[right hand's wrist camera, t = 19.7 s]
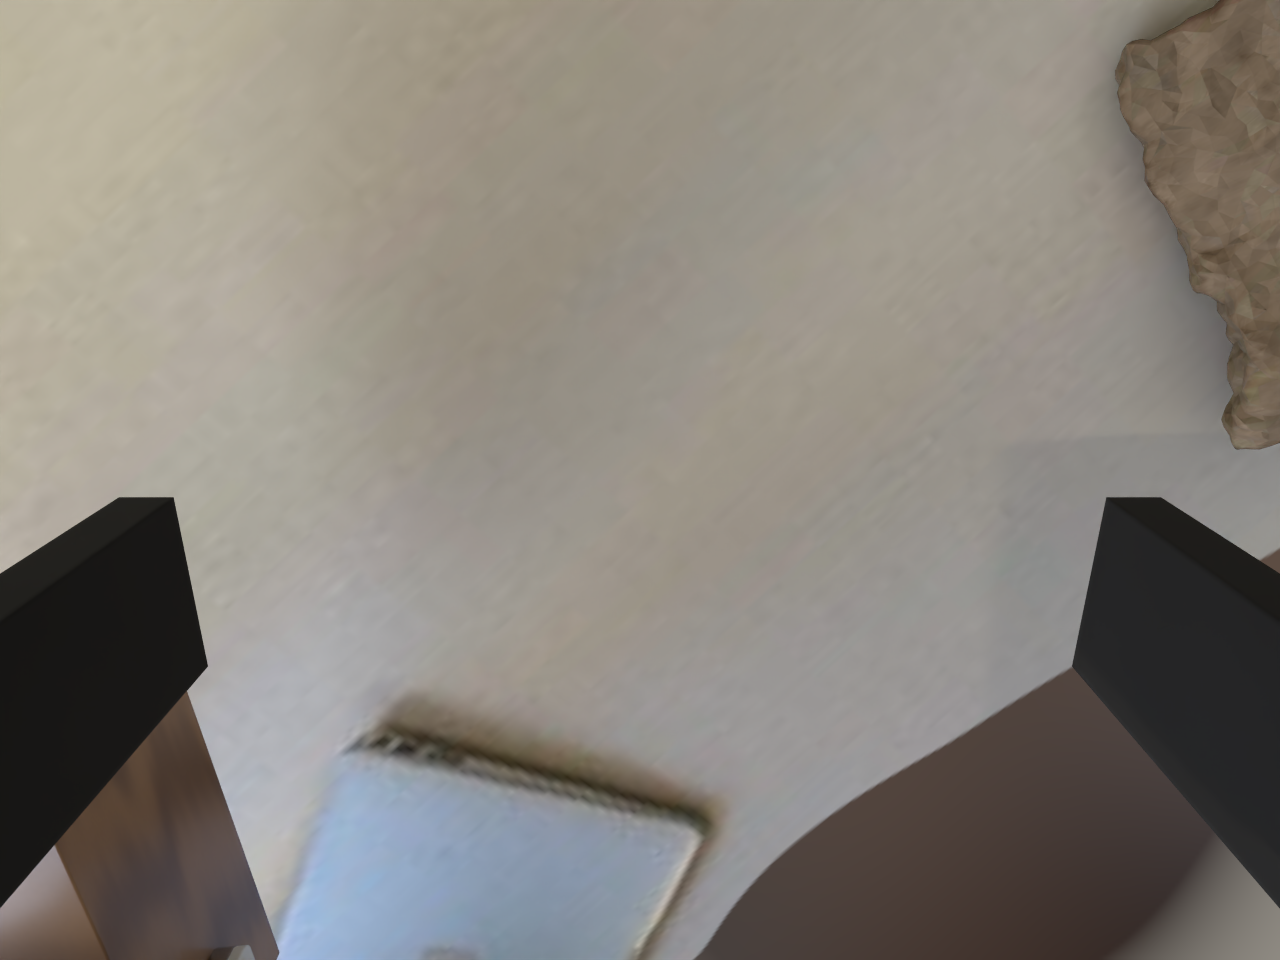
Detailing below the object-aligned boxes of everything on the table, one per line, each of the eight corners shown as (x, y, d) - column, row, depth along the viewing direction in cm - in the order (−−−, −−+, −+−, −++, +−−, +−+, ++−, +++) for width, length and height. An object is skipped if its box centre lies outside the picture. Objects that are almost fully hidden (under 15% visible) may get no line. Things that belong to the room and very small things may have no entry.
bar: (31, 559, 35) (-160, 687, 27) (137, 548, 35) (-22, 674, 27) (193, 959, 43) (85, 1154, 35) (280, 952, 43) (192, 1146, 35)
